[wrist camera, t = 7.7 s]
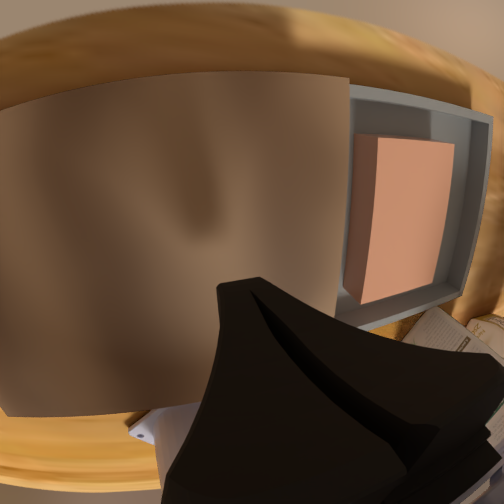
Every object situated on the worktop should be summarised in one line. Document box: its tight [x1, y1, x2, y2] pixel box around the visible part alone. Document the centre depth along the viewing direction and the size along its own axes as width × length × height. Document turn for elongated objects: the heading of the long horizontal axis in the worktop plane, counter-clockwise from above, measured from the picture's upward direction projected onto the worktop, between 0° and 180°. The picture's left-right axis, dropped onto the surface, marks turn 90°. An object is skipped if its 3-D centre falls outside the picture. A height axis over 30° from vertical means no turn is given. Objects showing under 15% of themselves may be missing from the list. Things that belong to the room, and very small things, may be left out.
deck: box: [0, 71, 350, 417], centre depth 12 cm, size 18×14×4 cm
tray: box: [334, 84, 493, 331], centre depth 17 cm, size 14×14×2 cm
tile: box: [343, 133, 455, 305], centre depth 17 cm, size 6×9×2 cm, turn 2°
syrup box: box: [401, 306, 504, 447], centre depth 19 cm, size 6×6×14 cm
